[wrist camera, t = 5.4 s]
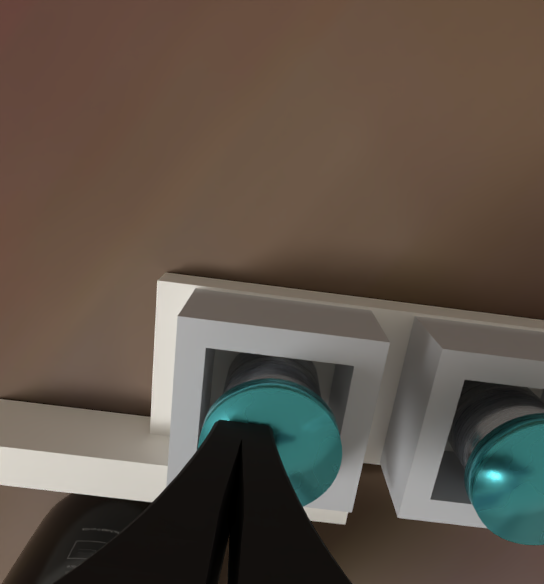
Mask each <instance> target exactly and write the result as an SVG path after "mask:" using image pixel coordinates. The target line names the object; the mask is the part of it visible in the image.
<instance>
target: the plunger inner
mask: <svg viewBox="0 0 544 584" xmlns="http://www.w3.org/2000/svg"><path fill="white" fill-rule="evenodd" d="M219 419H220V420H228V421H236V422H244V423H252V424H260V425H268V426H270V428H271V429H272V430H273V435H274V439H275V443H276V446H277V449H278V452H279V455H280V458H281V460H282V463H283V466H284V468H285V470H286V473H287V475H288V477H289V479H290V482H291V484H292V486H293V488H294V491H295V493H296V495H297V497H298V499H299V501H300V503H301V505H302V506H306V505H307V504H309V503H311V502H313V501H314V500H316V499H317V498H319V497H320V496H321V495H322V494H324V493H325V492H326V491H327V490H328V488H329V487H330V486H331V485H332V483H333V482H334V480H335V479H336V477H337V474H338V472H339V470H340V466H341V462H342V444H341V439H340V434H339V429H338V425H337V422H336V419H335V416H334V415H333V413H332V411H331V409H330V408H329V406H328V405H327V404H326V403H325V401H324V400H323V399H322V398H321V393H320V387H319V381H318V375H317V371H316V368H315V366H314V364H313V362H312V361H309V360H301V359H293V358H285V357H277V356H268V355H260V354H252V353H244V352H240V353H239V354H238V355H237V356H236V357H235V359H234V360H233V362H232V363H231V365H230V367H229V370H228V373H227V378H226V382H225V386H224V390H223V394H222V395H221V396H220V397H219V398H218V399H217V400H216V401H215V402H214V404H213V405H212V407H211V408H210V409H209V411H208V413H207V415H206V417H205V420H204V423H203V427H202V430H201V434H200V437H199V443H198V448H199V447H200V446H201V444H202V443H203V441H204V440H205V438H206V437H207V435H208V434H209V432H210V430H211V429H212V427H213V425H214V423H215V422H216V421H218V420H219Z"/></svg>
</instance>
